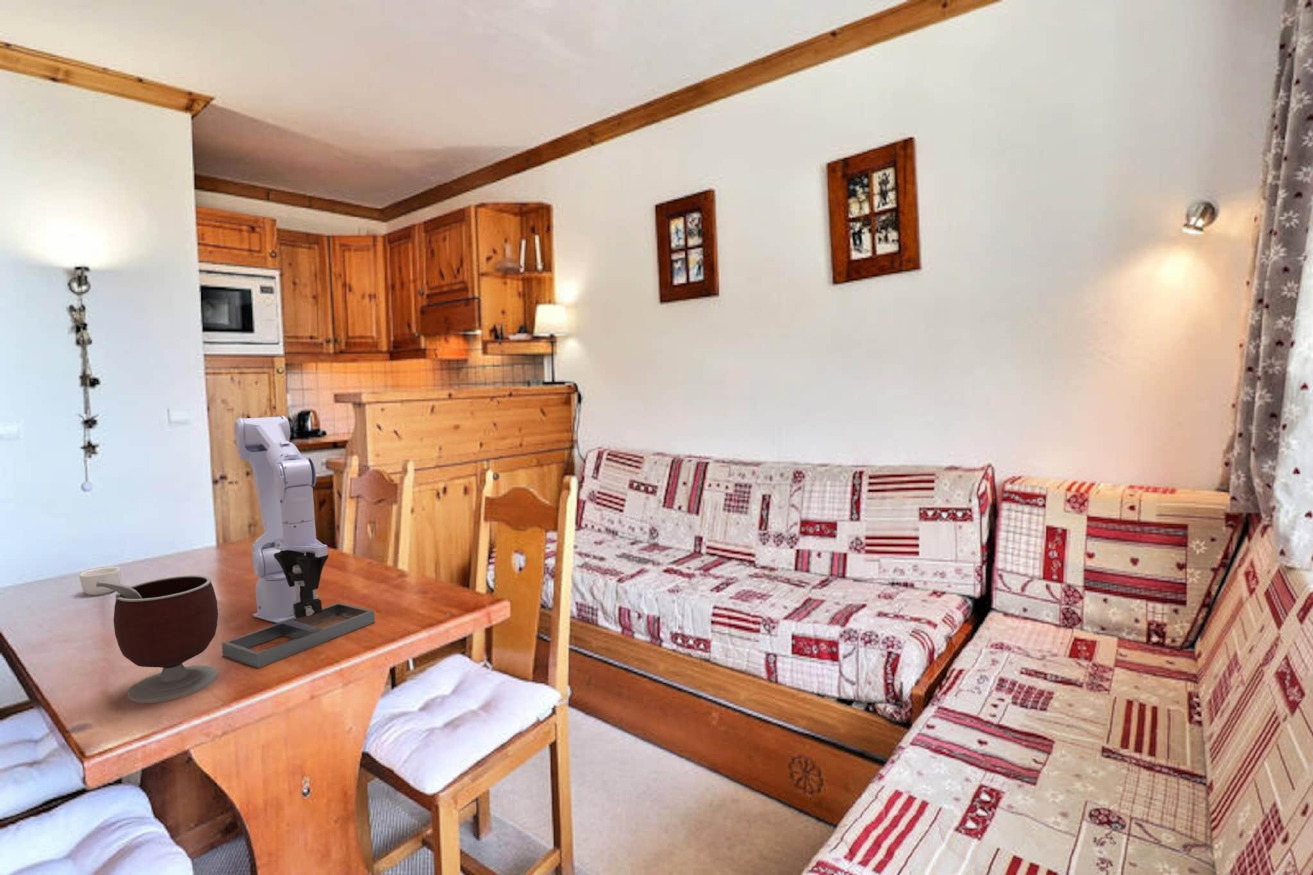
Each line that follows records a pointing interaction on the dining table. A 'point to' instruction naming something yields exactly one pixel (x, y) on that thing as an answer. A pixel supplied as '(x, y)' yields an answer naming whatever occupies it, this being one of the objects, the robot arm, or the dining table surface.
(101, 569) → the teacup
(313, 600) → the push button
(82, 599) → the dining table surface
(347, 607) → the rail frame
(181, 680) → the mate gourd
